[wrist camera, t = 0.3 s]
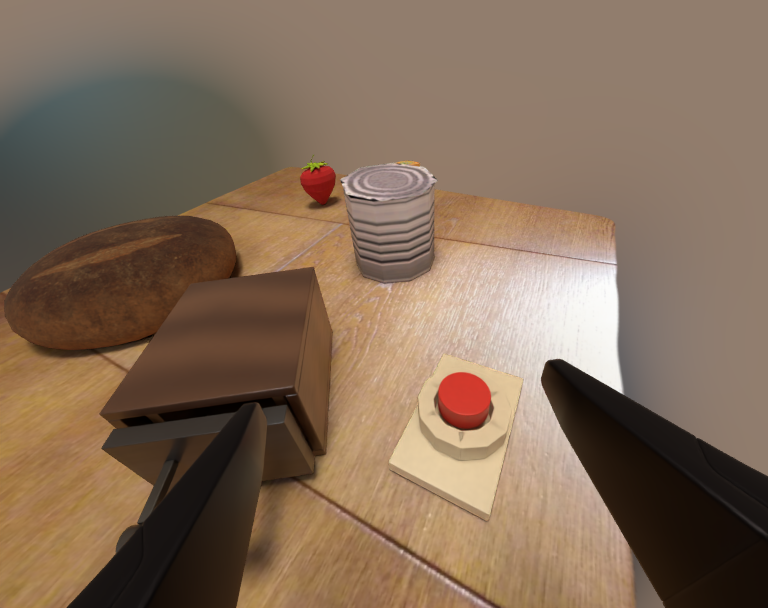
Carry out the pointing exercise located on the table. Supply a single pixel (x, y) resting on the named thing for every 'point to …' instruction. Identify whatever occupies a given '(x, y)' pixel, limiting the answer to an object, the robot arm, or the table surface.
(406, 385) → the table surface
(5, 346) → the table surface
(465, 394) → the button
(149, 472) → the brown drawer
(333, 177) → the strawberry
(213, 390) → the brown wooden drawer box
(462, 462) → the control block
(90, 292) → the bread
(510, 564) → the table surface
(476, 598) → the table surface
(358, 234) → the can
